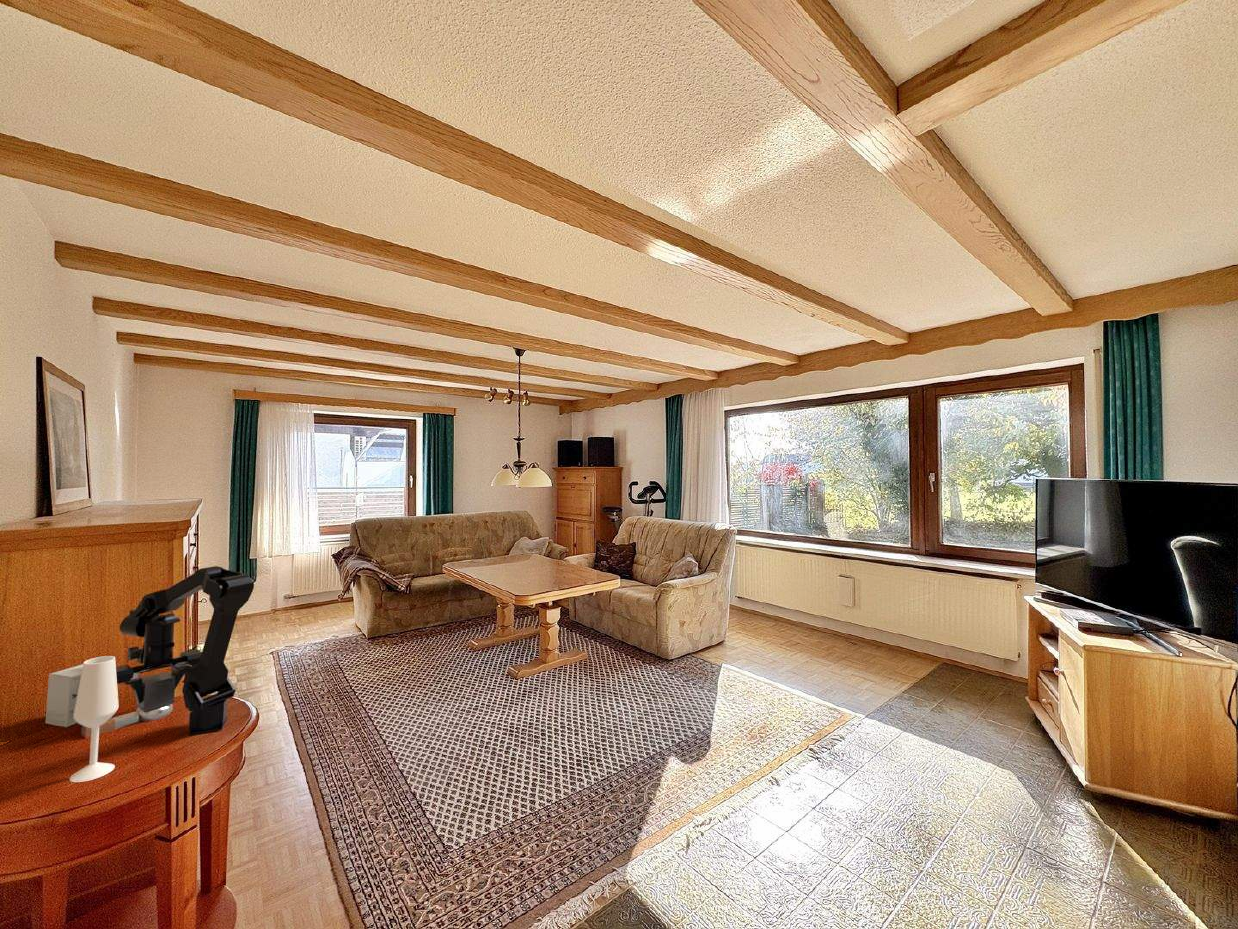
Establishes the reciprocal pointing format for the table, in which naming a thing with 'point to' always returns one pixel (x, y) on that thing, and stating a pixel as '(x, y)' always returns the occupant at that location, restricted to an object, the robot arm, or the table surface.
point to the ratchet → (130, 719)
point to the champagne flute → (96, 709)
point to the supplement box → (63, 696)
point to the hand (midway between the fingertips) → (155, 698)
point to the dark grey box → (157, 691)
